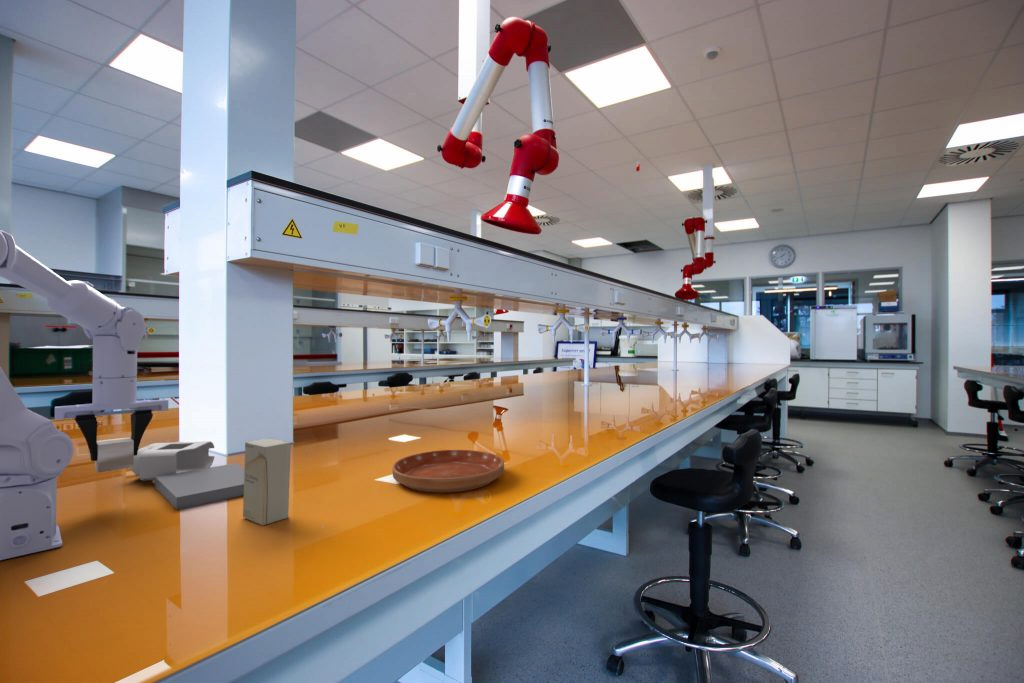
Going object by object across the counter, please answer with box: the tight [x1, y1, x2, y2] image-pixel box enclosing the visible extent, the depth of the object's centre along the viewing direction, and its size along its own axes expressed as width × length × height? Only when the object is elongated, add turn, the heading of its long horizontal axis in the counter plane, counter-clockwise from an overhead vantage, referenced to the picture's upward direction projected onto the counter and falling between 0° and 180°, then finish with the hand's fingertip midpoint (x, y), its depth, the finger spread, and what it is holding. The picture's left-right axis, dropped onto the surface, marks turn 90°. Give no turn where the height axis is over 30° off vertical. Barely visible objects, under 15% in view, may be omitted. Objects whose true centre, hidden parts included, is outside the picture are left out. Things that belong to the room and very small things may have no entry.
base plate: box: [154, 462, 245, 510], centre depth 89 cm, size 18×14×2 cm
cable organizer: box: [130, 440, 215, 484], centre depth 97 cm, size 7×12×12 cm
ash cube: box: [94, 436, 134, 473], centre depth 78 cm, size 4×4×4 cm
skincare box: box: [242, 437, 292, 526], centre depth 74 cm, size 6×4×12 cm
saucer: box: [391, 449, 505, 494], centre depth 96 cm, size 23×23×4 cm
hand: (114, 457), depth 78 cm, fingers closed on ash cube, 4 cm apart
